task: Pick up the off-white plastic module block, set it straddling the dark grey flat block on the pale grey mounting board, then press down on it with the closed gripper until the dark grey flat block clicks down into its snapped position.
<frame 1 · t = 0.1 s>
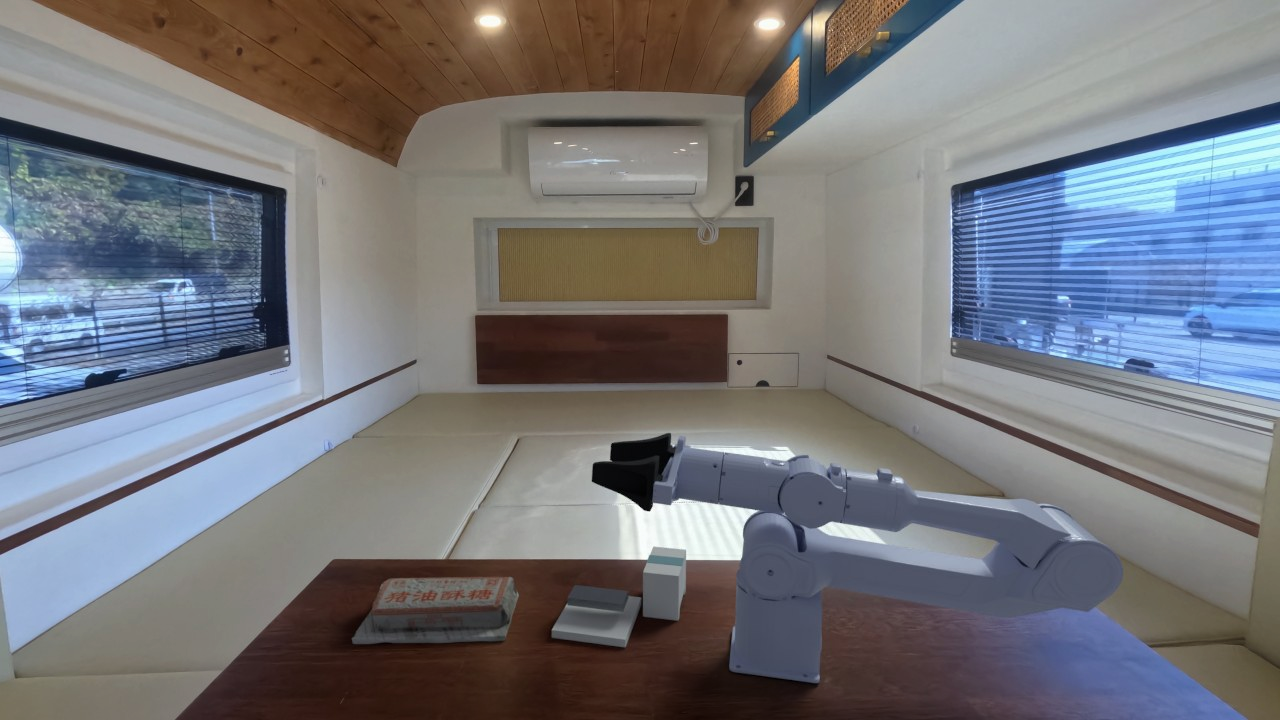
hand: (602, 461, 68), 22 cm above the table, tool horizontal, fingers open, 7 cm apart
packaged product: (441, 623, 75), on the table
module: (665, 603, 78), on the table
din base: (598, 620, 74), on the table
dark grey flat block: (598, 598, 74), point 3 cm above the table, slide at 0.0 cm
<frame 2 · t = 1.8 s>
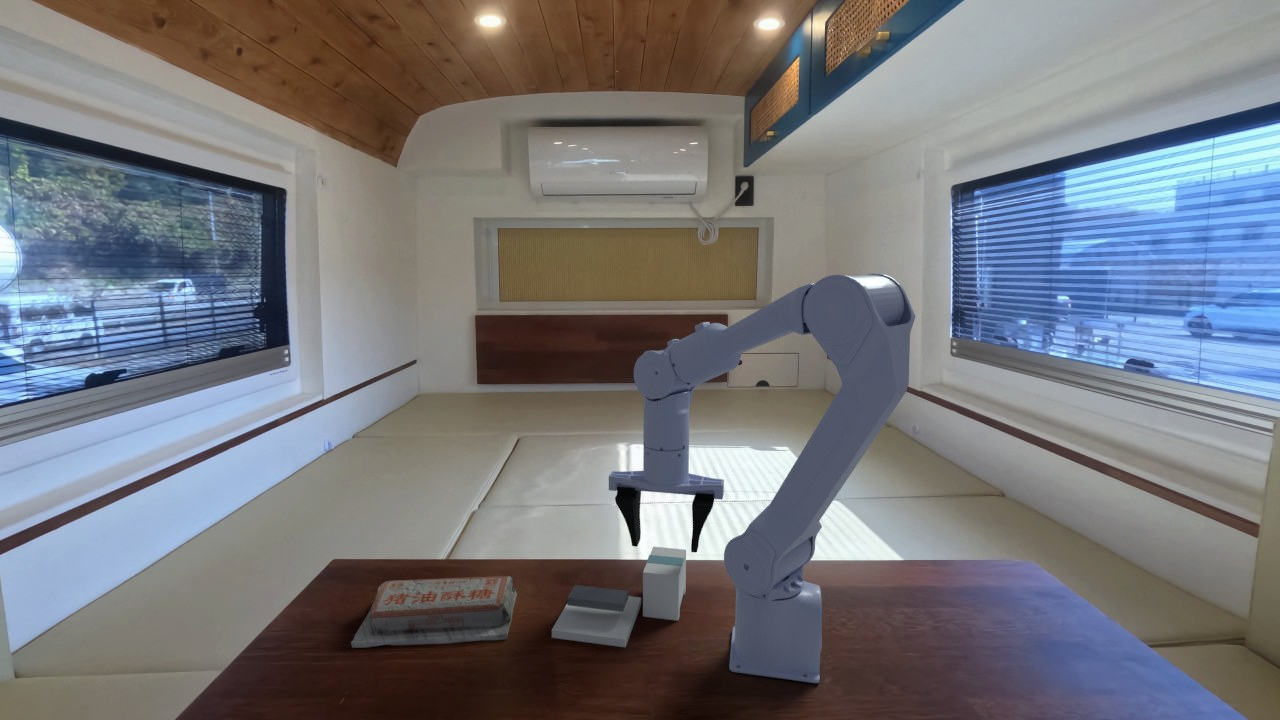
hand: (665, 545, 77), 8 cm above the table, tool pointing down, fingers open, 7 cm apart
nothing on the table moved.
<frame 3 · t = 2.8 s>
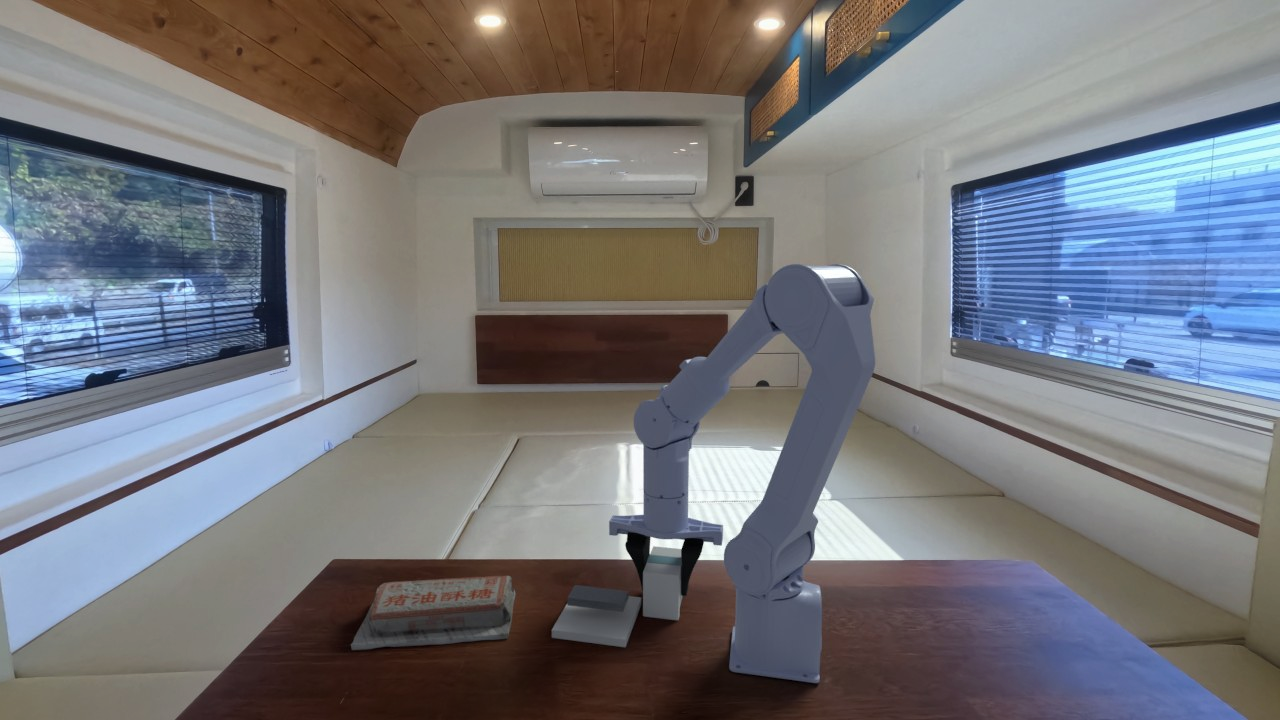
hand: (665, 589, 78), 2 cm above the table, tool pointing down, fingers closed on module, 4 cm apart
module: (665, 603, 78), on the table, touching gripper
everything else where it was.
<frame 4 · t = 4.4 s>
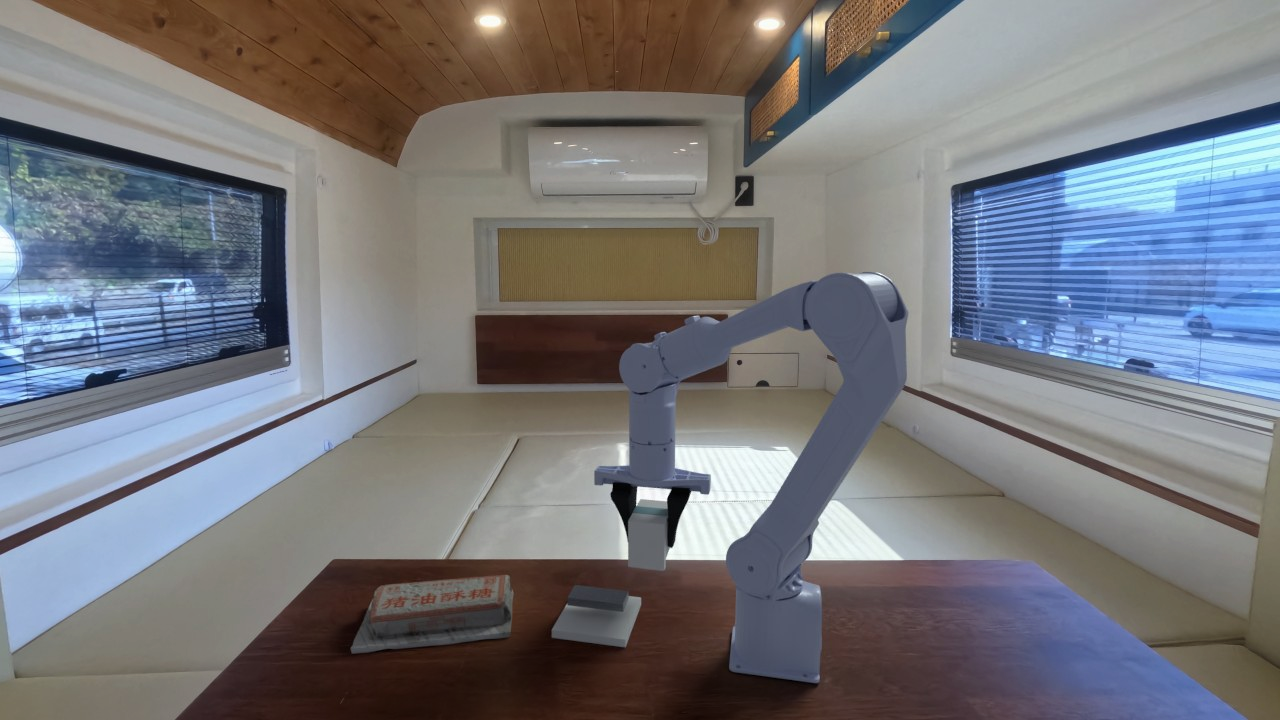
hand: (651, 541, 76), 9 cm above the table, tool pointing down, fingers closed on module, 4 cm apart
module: (651, 555, 76), point 7 cm above the table, touching gripper
everything else where it was.
when the fingers open (5 cm above the table, at t = 6.1 s): module drops 1 cm, resting on dark grey flat block.
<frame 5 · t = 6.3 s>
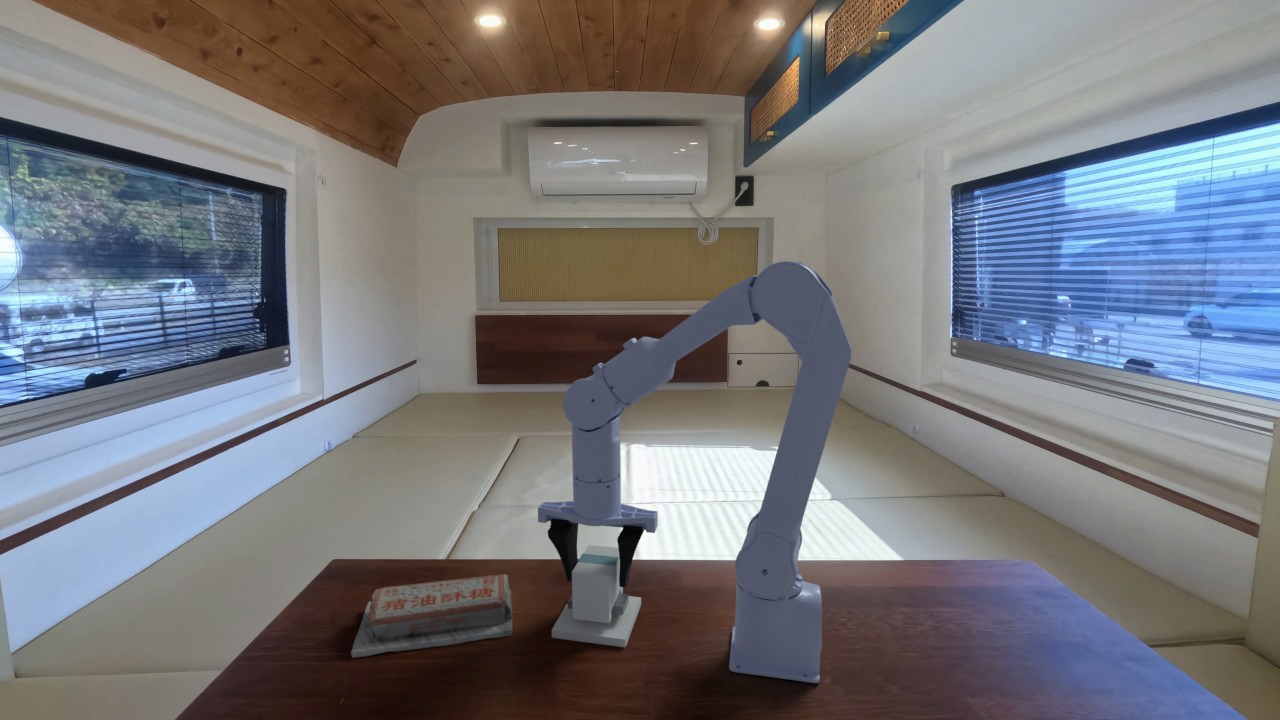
hand: (598, 580, 73), 5 cm above the table, tool pointing down, fingers open, 6 cm apart
module: (598, 604, 74), point 2 cm above the table, touching dark grey flat block
dark grey flat block: (598, 601, 74), point 3 cm above the table, slide at 0.4 cm, touching module
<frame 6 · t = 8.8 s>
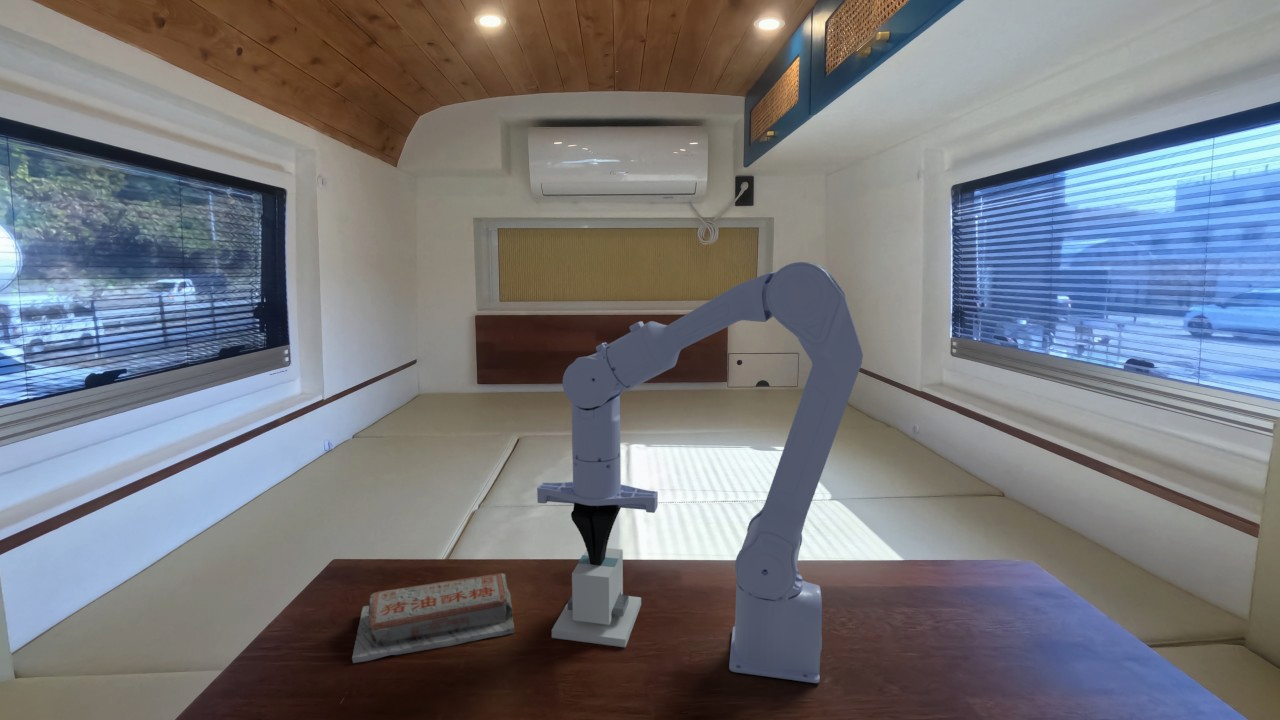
hand: (597, 561, 73), 8 cm above the table, tool pointing down, fingers closed, pressing on module
module: (598, 606, 74), point 2 cm above the table, touching gripper, dark grey flat block
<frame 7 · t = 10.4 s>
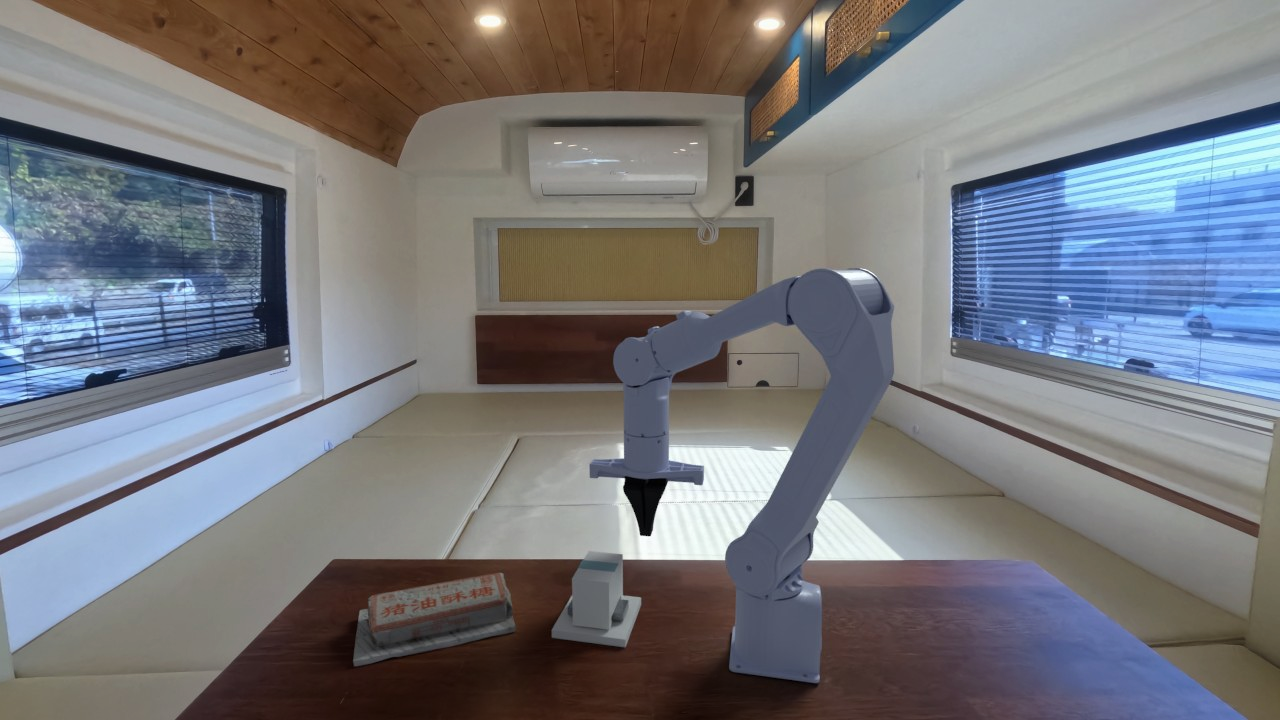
hand: (646, 532, 77), 9 cm above the table, tool pointing down, fingers closed
module: (598, 610, 74), point 1 cm above the table, touching dark grey flat block
dark grey flat block: (598, 607, 74), point 2 cm above the table, slide at 1.3 cm, touching module
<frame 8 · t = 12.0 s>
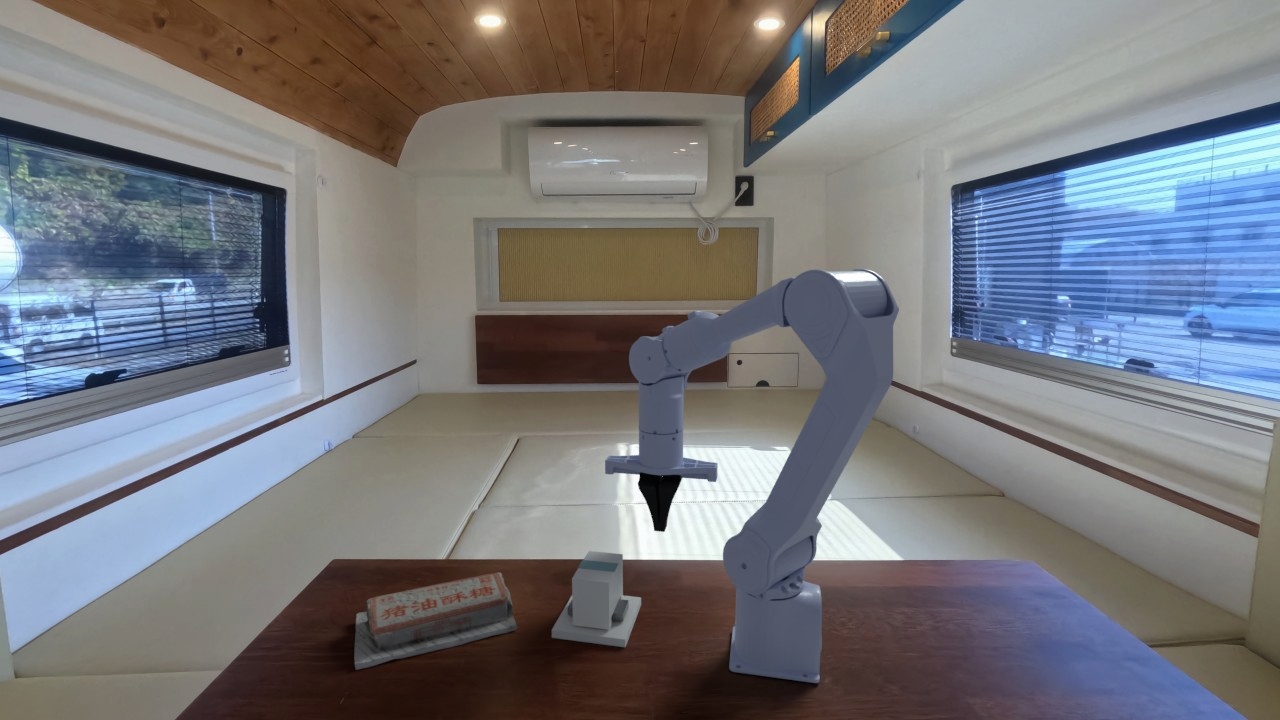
hand: (660, 528, 79), 9 cm above the table, tool pointing down, fingers closed
at the end: dark grey flat block slide at 1.3 cm; module 0.1 cm from the target spot, point 1.2 cm above the table; module tilted 0° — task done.
